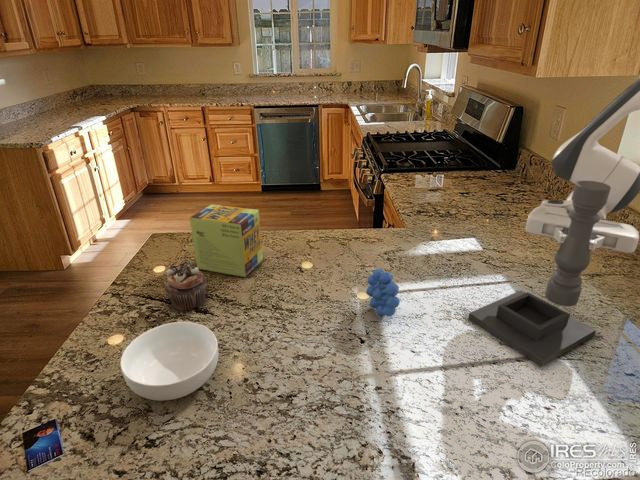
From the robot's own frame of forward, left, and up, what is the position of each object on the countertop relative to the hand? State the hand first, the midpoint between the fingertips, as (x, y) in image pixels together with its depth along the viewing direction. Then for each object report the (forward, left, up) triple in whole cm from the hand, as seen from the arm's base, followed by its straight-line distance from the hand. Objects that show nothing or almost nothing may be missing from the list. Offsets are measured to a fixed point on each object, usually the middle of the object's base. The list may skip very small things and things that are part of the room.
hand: (576, 244), depth 84 cm
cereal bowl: (+27, +75, -20) cm, 82 cm away
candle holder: (0, -1, -13) cm, 13 cm away
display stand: (+3, +5, -20) cm, 21 cm away
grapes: (+23, +29, -20) cm, 42 cm away
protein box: (+64, +51, -20) cm, 84 cm away
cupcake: (+52, +66, -20) cm, 86 cm away
